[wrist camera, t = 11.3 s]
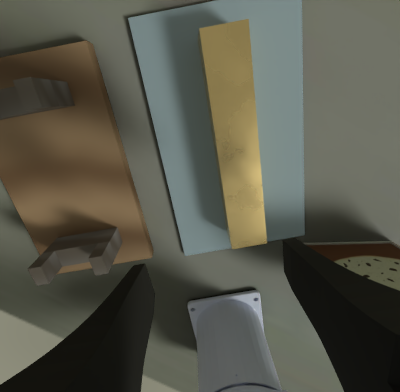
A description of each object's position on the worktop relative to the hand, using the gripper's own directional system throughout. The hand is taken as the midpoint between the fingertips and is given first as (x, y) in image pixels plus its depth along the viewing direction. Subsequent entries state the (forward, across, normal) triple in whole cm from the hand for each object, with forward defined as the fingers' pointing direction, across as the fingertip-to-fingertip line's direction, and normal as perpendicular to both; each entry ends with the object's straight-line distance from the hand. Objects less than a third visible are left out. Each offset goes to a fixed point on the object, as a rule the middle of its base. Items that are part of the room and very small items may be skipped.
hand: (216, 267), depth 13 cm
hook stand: (+10, +11, -4) cm, 16 cm away
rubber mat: (+10, -3, -4) cm, 12 cm away
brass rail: (+8, -3, -4) cm, 10 cm away
